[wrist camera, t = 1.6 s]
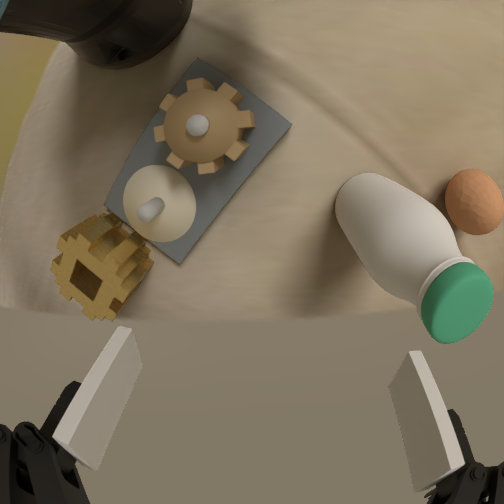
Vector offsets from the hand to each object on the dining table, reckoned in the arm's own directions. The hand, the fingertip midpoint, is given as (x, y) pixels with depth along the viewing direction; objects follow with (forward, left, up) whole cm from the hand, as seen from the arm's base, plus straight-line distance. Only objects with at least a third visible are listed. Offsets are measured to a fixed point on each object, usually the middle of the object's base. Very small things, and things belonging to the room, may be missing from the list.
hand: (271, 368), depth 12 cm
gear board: (-11, -1, -21) cm, 24 cm away
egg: (+15, +18, -21) cm, 31 cm away
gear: (-13, -17, -21) cm, 30 cm away
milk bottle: (+7, +8, -21) cm, 23 cm away
